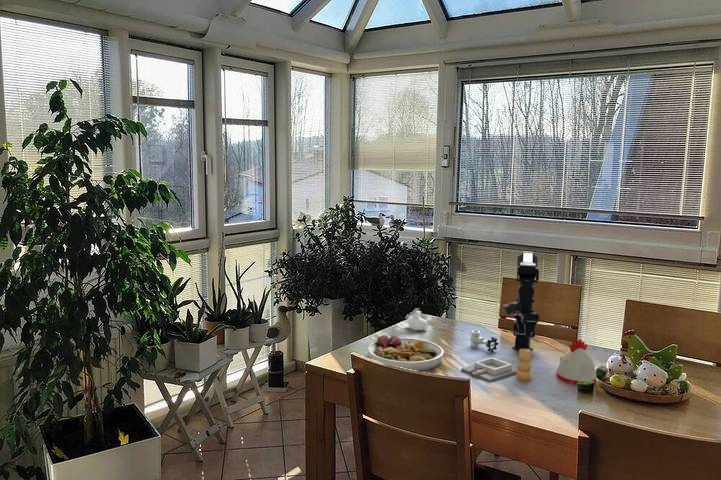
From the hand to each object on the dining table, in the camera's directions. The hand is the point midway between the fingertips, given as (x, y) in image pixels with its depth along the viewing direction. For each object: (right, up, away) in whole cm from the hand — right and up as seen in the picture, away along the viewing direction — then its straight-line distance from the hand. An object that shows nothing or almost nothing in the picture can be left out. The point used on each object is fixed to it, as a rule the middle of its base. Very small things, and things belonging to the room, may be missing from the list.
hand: (523, 335), depth 235 cm
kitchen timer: (+17, -15, -10) cm, 24 cm away
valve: (-12, -9, +22) cm, 27 cm away
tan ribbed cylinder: (-3, -14, -12) cm, 19 cm away
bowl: (-46, -11, +6) cm, 48 cm away
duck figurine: (-38, -5, +48) cm, 61 cm away
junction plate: (-13, -13, -4) cm, 19 cm away
